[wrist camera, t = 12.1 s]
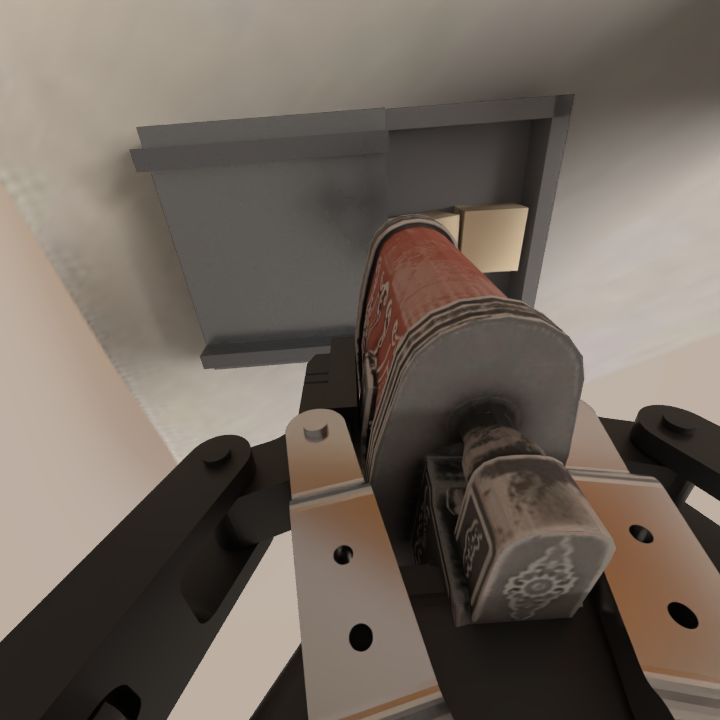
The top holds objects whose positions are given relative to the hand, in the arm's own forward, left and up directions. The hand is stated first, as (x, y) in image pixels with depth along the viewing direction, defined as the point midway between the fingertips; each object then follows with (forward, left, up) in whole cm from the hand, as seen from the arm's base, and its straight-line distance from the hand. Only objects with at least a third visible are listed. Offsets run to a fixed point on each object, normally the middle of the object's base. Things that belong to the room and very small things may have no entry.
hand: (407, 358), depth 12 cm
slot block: (+6, 0, -17) cm, 18 cm away
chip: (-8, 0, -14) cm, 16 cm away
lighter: (0, 0, -2) cm, 2 cm away
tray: (-6, 0, -17) cm, 18 cm away
